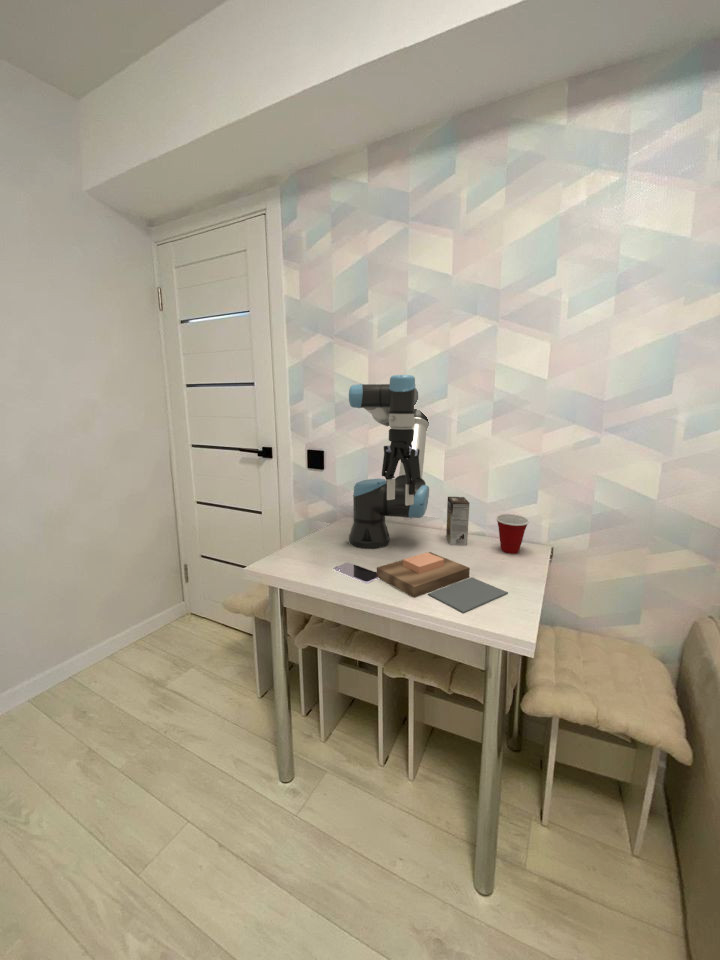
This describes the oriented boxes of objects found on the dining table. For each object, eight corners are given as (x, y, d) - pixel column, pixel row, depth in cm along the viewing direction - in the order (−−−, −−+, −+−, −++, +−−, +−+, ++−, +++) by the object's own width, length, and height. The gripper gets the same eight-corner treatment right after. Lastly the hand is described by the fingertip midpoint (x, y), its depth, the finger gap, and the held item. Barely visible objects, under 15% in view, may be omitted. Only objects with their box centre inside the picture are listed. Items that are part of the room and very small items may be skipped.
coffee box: (445, 537, 156) (447, 496, 153) (462, 537, 155) (464, 496, 153) (449, 545, 147) (451, 501, 144) (467, 545, 146) (470, 502, 144)
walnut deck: (376, 577, 119) (376, 567, 119) (429, 560, 132) (430, 551, 131) (414, 597, 107) (414, 586, 106) (469, 577, 119) (469, 567, 119)
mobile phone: (366, 582, 114) (330, 567, 124) (366, 585, 115) (330, 570, 125) (383, 574, 120) (347, 561, 130) (383, 577, 120) (347, 563, 130)
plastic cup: (497, 556, 136) (500, 521, 134) (490, 545, 146) (492, 513, 144) (531, 557, 135) (534, 522, 133) (521, 546, 146) (523, 514, 143)
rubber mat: (427, 594, 108) (427, 593, 108) (471, 578, 118) (471, 577, 118) (463, 613, 98) (463, 611, 98) (507, 593, 109) (508, 592, 109)
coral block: (402, 565, 120) (402, 559, 120) (426, 558, 126) (427, 552, 125) (419, 573, 114) (419, 566, 114) (443, 565, 120) (444, 559, 120)
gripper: (370, 427, 128) (369, 497, 132) (416, 430, 111) (414, 510, 115) (388, 426, 132) (387, 494, 136) (435, 429, 116) (432, 507, 120)
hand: (399, 502), depth 126 cm, fingers open, 8 cm apart
